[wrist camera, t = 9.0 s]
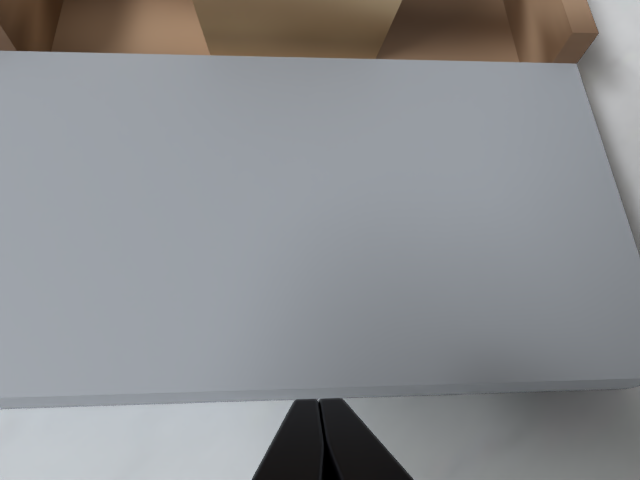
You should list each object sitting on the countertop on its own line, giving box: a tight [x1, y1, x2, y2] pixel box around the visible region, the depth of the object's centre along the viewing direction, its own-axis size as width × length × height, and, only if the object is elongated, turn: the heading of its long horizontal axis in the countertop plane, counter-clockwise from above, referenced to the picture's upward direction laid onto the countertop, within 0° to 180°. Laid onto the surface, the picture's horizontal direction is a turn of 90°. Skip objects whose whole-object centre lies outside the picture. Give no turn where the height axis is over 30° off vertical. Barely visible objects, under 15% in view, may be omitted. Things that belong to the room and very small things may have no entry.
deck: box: [0, 51, 640, 409], centre depth 17 cm, size 12×22×2 cm, turn 92°
